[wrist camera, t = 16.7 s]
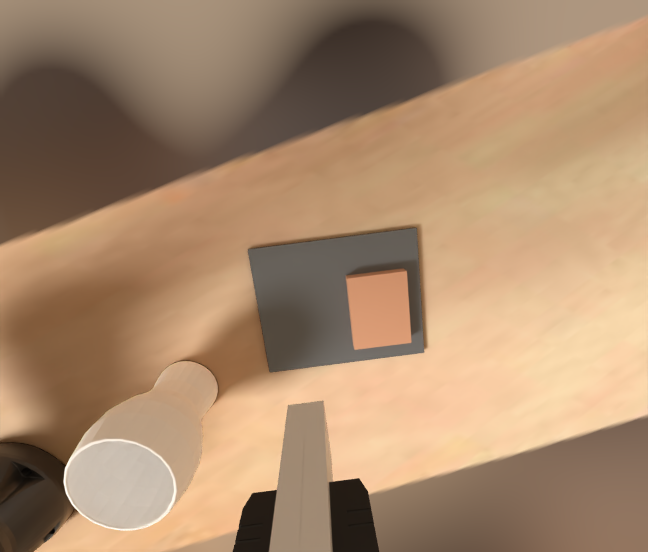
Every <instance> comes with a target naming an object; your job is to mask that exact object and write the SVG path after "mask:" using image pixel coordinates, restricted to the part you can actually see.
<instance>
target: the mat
mask: <svg viewBox="0 0 648 552" xmlns="http://www.w3.org/2000/svg"><path fill="white" fill-rule="evenodd" d="M248 254H249V260H250V265H251V271H252V276H253V282H254V288H255V293H256V299H257V304H258V310H259V315H260V321H261V326H262V332H263V338H264V343H265V349H266V354H267V360H268V365H269V371H270V372H278V371H285V370H293V369H301V368H309V367H316V366H324V365H332V364H340V363H347V362H355V361H363V360H371V359H378V358H386V357H394V356H402V355H409V354H417V353H424V342H423V325H422V308H421V291H420V275H419V258H418V241H417V228H409V229H401V230H393V231H385V232H377V233H370V234H362V235H354V236H346V237H339V238H331V239H323V240H315V241H308V242H300V243H292V244H284V245H276V246H269V247H261V248H253V249H248ZM394 269H405V270H406V271H407V281H408V296H409V312H410V327H411V343H406V344H398V345H390V346H382V347H374V348H366V349H358V350H354V346H353V339H352V330H351V321H350V312H349V303H348V293H347V284H346V275H354V274H362V273H370V272H378V271H386V270H394Z"/></svg>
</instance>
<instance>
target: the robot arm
mask: <svg viewBox="0 0 648 552" xmlns="http://www.w3.org/2000/svg"><path fill="white" fill-rule="evenodd" d="M64 472H65V466H64V465H63V464H62V463H61V462H60V461H58V460H57V459H56V458H55V457H53V456H52V455H50V454H49V453H47V452H45V451H43V450H41V449H39V448H36V447H33V446H30V445H26V444H20V443H0V552H34V551H35V550H36V549H37V548H39V547H40V546H41V545H42V544H43V543H45V542H46V541H47V540H49V539H50V538H51V537H52V536H53V535H55V534H56V533H57V532H58V530H59V529H60V528H61V527H62V525H63V524H64V523H65V522H66V520H67V519H68V518H69V517H70V515H71V514H72V512H73V510H74V508H75V507H74V506H73V505H72V504H71V502H70V500H69V498H68V496H67V495H66V491H65V487H64V482H63V481H64ZM233 552H379V548H378V543H377V538H376V533H375V527H374V522H373V516H372V511H371V506H370V500H369V495H368V491H367V489H366V488H365V487H364V485H363V484H362V482H361V481H360V479H359V478H358V479H351V480H343V481H335V482H333V475H332V461H331V451H330V444H329V437H328V430H327V422H326V415H325V408H324V401H317V402H310V403H302V404H294V405H288V409H287V417H286V424H285V432H284V440H283V448H282V455H281V463H280V471H279V478H278V486H277V490H274V491H266V492H258V493H252V495H251V497H250V498H249V500H248V501H247V503H246V505H245V506H244V508H243V510H242V515H241V519H240V523H239V530H238V532H237V536H236V541H235V545H234V549H233Z"/></svg>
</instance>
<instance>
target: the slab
mask: <svg viewBox="0 0 648 552" xmlns="http://www.w3.org/2000/svg"><path fill="white" fill-rule="evenodd" d="M346 284H347V293H348V303H349V312H350V321H351V330H352V339H353V346H354V350H358V349H366V348H374V347H382V346H390V345H398V344H406V343H411V327H410V312H409V296H408V281H407V271H406V270H405V269H394V270H386V271H378V272H370V273H362V274H354V275H346Z"/></svg>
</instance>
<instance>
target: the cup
mask: <svg viewBox="0 0 648 552" xmlns="http://www.w3.org/2000/svg"><path fill="white" fill-rule="evenodd" d="M217 393H218V386H217V382H216V379H215V377H214V376H213V374H212V373H211V372H210V371H209V370H208V369H207V368H206V367H204V366H202V365H200V364H198V363H195V362H191V361H180V362H177V363H173V364H171V365H170V366H168V367H167V368H166V369H165V370H164V371H163V372H162V373H161V375H160V376H159V378H158V379H157V381H156V383H155V385H154V387H153V389H151V390H150V391H149V392H147V393H143V394H139V395H135V396H133V397H131V398H129V399H128V400H126V401H124V402H122V403H120V404H118V405H116V406H115V407H113V408H111V409H109V410H108V411H107V412H106V413H105V414H104V415H103V416H102V417H101V418H100V419H99V420H98V421H97V422H96V423H95V424H94V425H93V426H92V427H91V428H90V429H89V430H88V431H87V432H86V433H85V434H84V436H83V437H82V439H81V441H80V442H79V444H78V446H77V447H76V449H75V451H74V452H73V454H72V456H71V457H70V459H69V461H68V463H67V465H66V467H65V472H64V481H63V482H64V487H65V491H66V495H67V496H68V498H69V500H70V502H71V504H72V505H73V506H74V507H75V508H76V510H77V511H78V512H79V513H80V514H81V515H83V516H84V517H86V518H87V519H89V520H90V521H92V522H93V523H96V524H98V525H101V526H103V527H106V528H110V529H116V530H137V529H141V528H145V527H149V526H151V525H152V524H154V523H156V522H158V521H160V520H161V519H162V518H163V517H164V516H166V515H167V514H168V513H169V512H170V511H171V509H172V508H173V507H174V505H175V504H176V503H177V502H178V500H179V499H180V498H181V496H182V495H183V494H184V492H185V491H186V490H187V488H188V486H189V484H190V483H191V481H192V479H193V477H194V474H195V472H196V470H197V468H198V465H199V463H200V458H201V453H202V443H203V430H202V423H201V420H202V417H203V416H204V415H205V414H206V412H207V411H208V410H209V409H210V408H211V406H212V405H213V403H214V401H215V400H216V398H217Z"/></svg>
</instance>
